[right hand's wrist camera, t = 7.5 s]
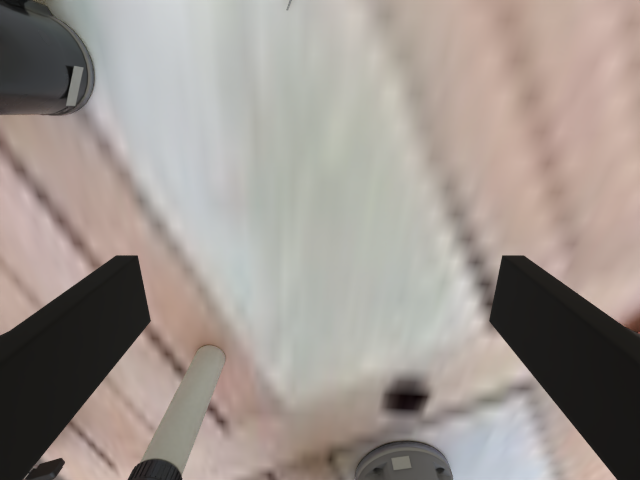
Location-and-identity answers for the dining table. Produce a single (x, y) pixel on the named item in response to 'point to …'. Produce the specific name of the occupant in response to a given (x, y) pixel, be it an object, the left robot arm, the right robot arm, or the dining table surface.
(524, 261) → the right robot arm
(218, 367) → the bottle
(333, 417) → the dining table surface
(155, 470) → the lid
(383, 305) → the dining table surface
